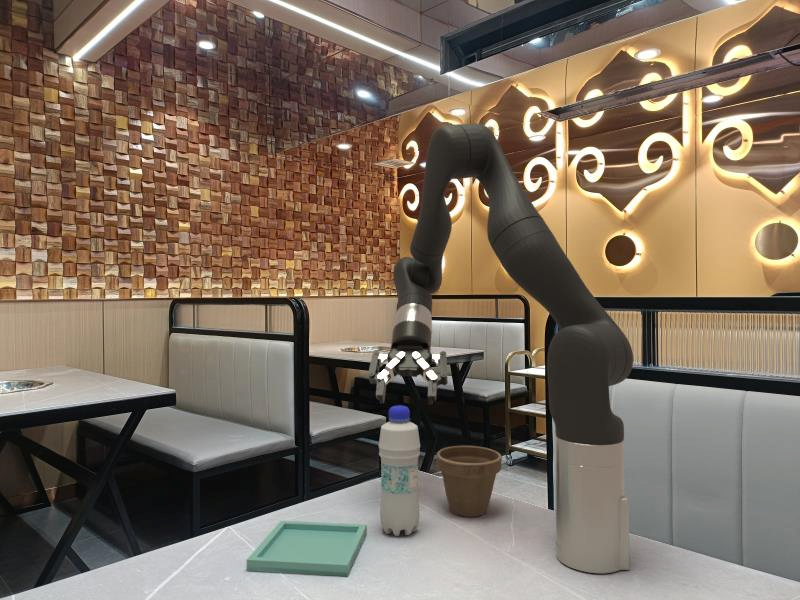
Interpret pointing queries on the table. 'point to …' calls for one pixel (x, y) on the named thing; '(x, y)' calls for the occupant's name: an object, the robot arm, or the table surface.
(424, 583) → the table surface
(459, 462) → the flower pot
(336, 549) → the tray
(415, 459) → the bottle
